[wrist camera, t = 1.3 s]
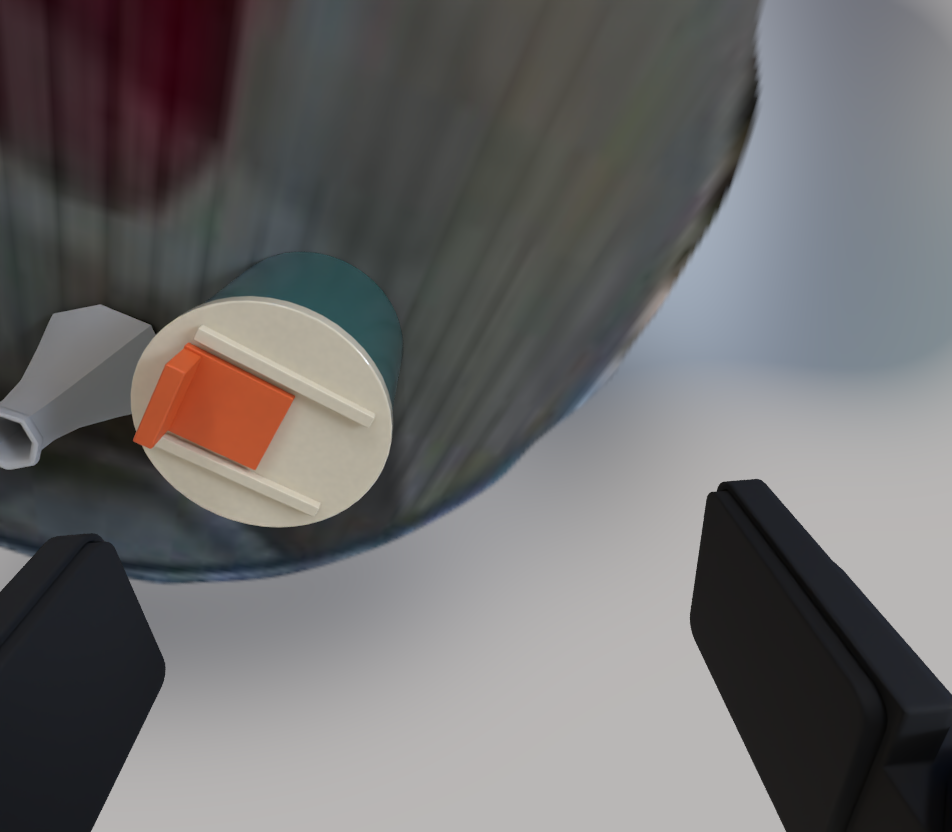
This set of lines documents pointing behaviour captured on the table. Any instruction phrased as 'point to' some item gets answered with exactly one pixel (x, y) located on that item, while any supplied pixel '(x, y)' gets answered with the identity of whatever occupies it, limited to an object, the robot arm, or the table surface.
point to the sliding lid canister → (289, 389)
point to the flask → (72, 380)
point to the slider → (214, 407)
